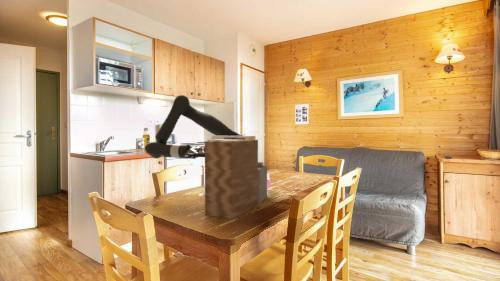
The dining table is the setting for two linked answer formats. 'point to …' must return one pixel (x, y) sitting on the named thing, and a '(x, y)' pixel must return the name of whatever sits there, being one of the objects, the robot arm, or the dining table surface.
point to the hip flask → (262, 182)
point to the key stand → (230, 176)
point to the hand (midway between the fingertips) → (208, 152)
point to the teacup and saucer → (202, 193)
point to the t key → (246, 138)
